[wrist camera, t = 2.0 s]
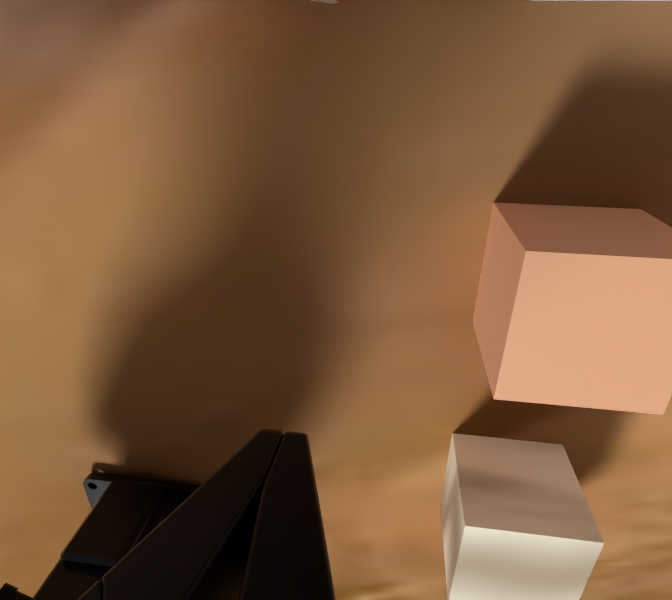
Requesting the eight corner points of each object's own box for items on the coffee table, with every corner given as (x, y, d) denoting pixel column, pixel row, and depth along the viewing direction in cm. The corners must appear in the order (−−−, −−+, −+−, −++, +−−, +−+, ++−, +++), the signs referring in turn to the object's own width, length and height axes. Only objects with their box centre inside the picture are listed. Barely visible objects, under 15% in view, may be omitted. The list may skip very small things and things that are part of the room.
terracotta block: (599, 330, 16) (663, 414, 12) (472, 321, 17) (493, 398, 13) (639, 208, 14) (730, 262, 10) (492, 201, 15) (526, 251, 11)
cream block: (538, 515, 21) (570, 619, 17) (440, 503, 21) (448, 602, 17) (562, 443, 19) (604, 542, 15) (452, 431, 19) (464, 525, 15)
